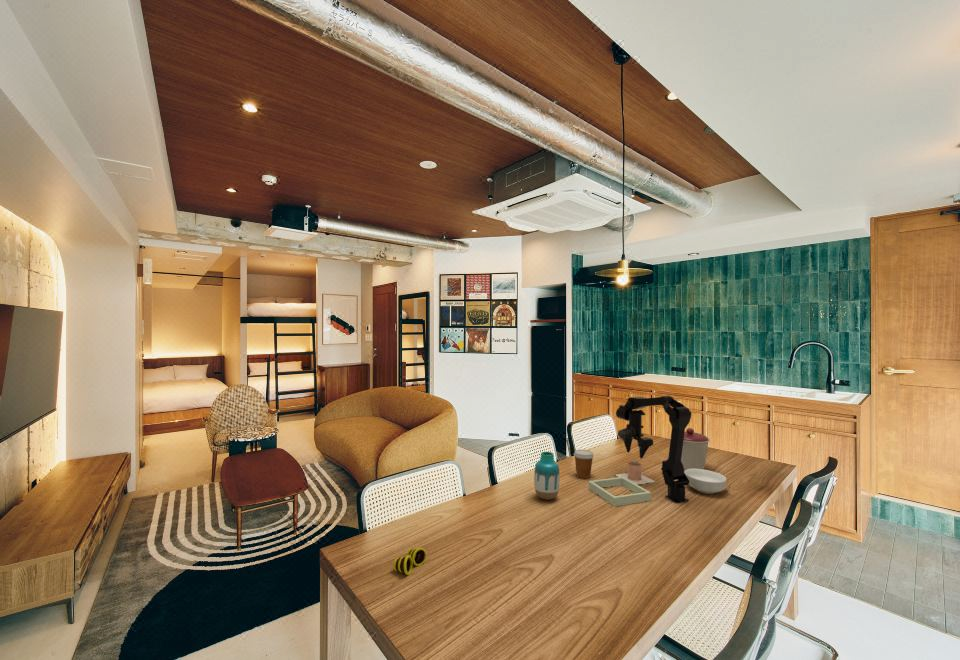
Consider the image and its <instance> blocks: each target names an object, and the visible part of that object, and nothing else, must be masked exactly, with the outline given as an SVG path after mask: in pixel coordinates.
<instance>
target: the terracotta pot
mask: <svg viewBox="0 0 960 660" xmlns="http://www.w3.org/2000/svg"><path fill="white" fill-rule="evenodd" d="M642 466H643V465H642V463H641V462H638V461H628V462H627V472H626V473H627V478H628V479H630V480H634V481H640V480H642V475H643V474H642V472H643V470H642V469H643V467H642Z"/></svg>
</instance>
